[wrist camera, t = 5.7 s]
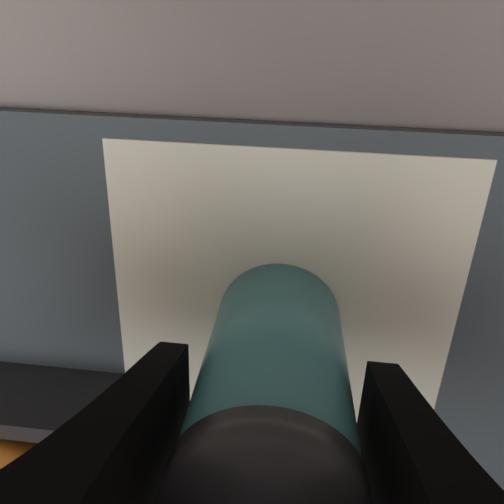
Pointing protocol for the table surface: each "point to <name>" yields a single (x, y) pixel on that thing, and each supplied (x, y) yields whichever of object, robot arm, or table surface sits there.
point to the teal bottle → (271, 402)
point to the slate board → (247, 252)
